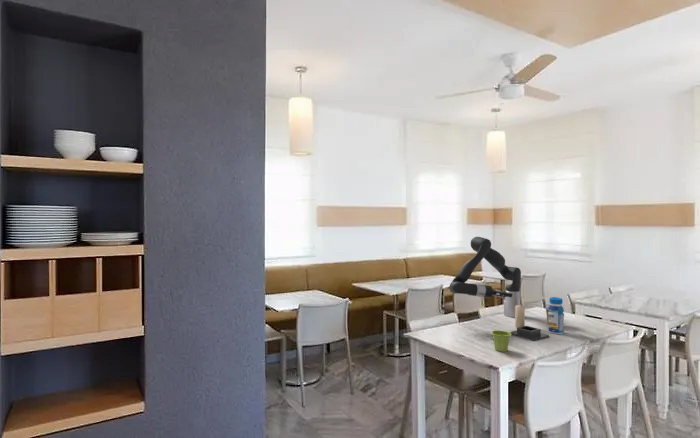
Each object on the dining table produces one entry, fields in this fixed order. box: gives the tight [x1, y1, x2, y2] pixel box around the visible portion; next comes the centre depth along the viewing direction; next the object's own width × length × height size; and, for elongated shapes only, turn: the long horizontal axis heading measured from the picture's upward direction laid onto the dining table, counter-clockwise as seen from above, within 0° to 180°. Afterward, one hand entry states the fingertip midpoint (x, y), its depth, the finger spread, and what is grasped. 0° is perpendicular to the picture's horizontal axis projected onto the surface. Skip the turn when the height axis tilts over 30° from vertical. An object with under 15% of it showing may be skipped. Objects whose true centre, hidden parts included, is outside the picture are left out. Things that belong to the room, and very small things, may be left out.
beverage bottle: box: [547, 296, 565, 335], centre depth 235 cm, size 8×8×20 cm
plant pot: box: [491, 329, 512, 353], centre depth 205 cm, size 9×9×9 cm
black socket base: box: [509, 325, 550, 342], centre depth 229 cm, size 16×14×4 cm
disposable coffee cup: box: [544, 304, 551, 322], centre depth 250 cm, size 10×10×12 cm
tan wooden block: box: [514, 304, 526, 329], centre depth 246 cm, size 5×5×13 cm
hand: (509, 294), depth 246 cm, fingers open, 8 cm apart
